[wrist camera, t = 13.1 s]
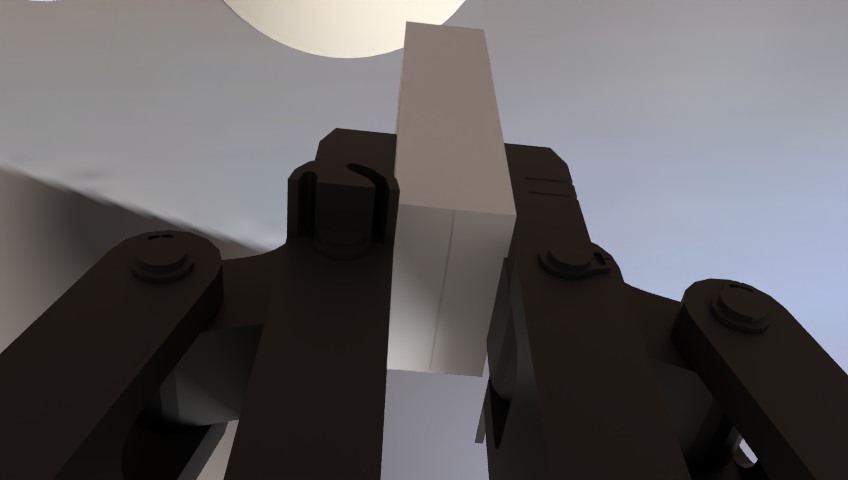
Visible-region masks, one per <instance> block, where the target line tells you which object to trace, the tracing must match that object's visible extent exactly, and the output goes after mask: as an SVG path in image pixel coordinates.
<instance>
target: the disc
mask: <svg viewBox="0 0 848 480" xmlns="http://www.w3.org/2000/svg"><path fill="white" fill-rule="evenodd" d="M224 1H225V2H226V3H227V4H228V5H229V6H230V7H231V8H232V9H233V10H234V11H235V12H236V13H237V14H238V15H239V16H240V17H241V18H243V19H244V20H245V21H247V22H248V23H249V24H251V25H252V26H253V27H255V28H256V29H257V30H259V31H260V32H262V33H264V34H265V35H267V36H269V37H271V38H272V39H274V40H276V41H278V42H280V43H283V44H285V45H287V46H290V47H292V48H294V49H298V50H301V51H304V52H308V53H311V54H316V55H322V56H327V57H338V58H357V57H369V56H374V55H379V54H384V53H388V52H391V51H394V50H397V49H400V48H402V47H404V38H405V28H406V21H409V22H418V23H427V24H436V25H441V24H442V23H444V22H445V21H446V20H447V19H448V18H449V17H450V16H452V15H453V14H454V12H455V11H456V10H457V9H458V8H459V7H460V6H461V4H462V3H463V2H464V1H465V0H224Z"/></svg>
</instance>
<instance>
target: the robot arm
mask: <svg viewBox="0 0 848 480" xmlns="http://www.w3.org/2000/svg"><path fill="white" fill-rule="evenodd" d="M487 353H488V364H489V380H488V385H487V389H486V393H485V398H484V402H483V407H482V412H481V416H480V420H479V425H478V430H477V434H476V440H475V443H483V440H484V436H485V432H486V446H487V457H488V458H487V459H488V472H489V480H848V375H847V374H846V373H845V372H844V371H843V370H842V368H841V367H840V366H839V365H838V364H837V363H836V362H835V361H834V360H833V359H832V358H831V357H830V356H829V354H828V353H827V352H826V351H825V350H824V349H823V348H822V347H821V346H820V345H819V344H818V343H817V342H816V341H815V339H814V338H813V337H812V336H811V335H810V334H809V333H808V332H807V331H806V330H805V329H804V328H803V327H802V325H801V324H800V323H799V322H798V321H797V320H796V319H795V318H794V317H793V316H792V315H791V314H790V313H789V312H788V310H787V309H786V308H784V307H783V306H782V305H781V304H780V303H778V302H777V301H776V300H775V299H773V298H772V297H771V296H769V295H767V294H766V293H764V292H762V291H760V290H758V289H756V288H754V287H753V286H750V285H747V284H744V283H739V282H737V281H732V280H725V279H706V280H702V281H697V282H694V283H693V284H692V285H691V286H690V287H689V288H687V289H686V290H685V292H684V295H683V298H682V300H681V302H679V301H675V300H672V299H669V298H665V297H662V296H659V295H655V294H652V293H649V292H646V291H643V290H640V289H638V288H635V287H632V286H630V285H629V284H627V283H625V282H624V280H623V277H622V274H621V271H620V268H619V266H618V265H617V263H616V262H615V260H614V259H613V257H612V256H611V255H610V254H609V253H608V252H606V251H605V250H604V249H602V248H601V247H600V246H598V245H597V244H594V243H592V242H591V240H590V237H589V234H588V231H587V227H586V224H585V221H584V218H583V214H582V211H581V208H580V205H579V201H578V200H577V195H576V192H575V188H574V185H572V179H571V175H570V172H569V169H568V166H567V164H566V163H565V162H564V161H563V160H562V159H561V158H560V157H559V156H558V155H557V154H556V153H555V152H554V151H553V150H552V149H551V148H547V147H537V146H527V145H518V144H508V143H504V141H503V135H502V130H501V124H500V118H499V113H498V107H497V101H496V96H495V90H494V84H493V79H492V73H491V67H490V61H489V56H488V50H487V44H486V39H485V33H484V30H481V29H472V28H463V27H454V26H445V25H436V24H427V23H418V22H409V21H406V28H405V38H404V48H403V58H402V68H401V78H400V87H399V97H398V107H397V117H396V127H395V134H389V133H379V132H369V131H360V130H350V129H340V128H336V129H334V130H333V131H332V132H331V133H330V134H328V135H327V136H326V137H325V138H323V139H322V140H321V141H320V142H319V146H318V150H317V154H316V158H315V161H310V162H308V163H306V164H304V165H302V166H300V167H298V168H296V169H295V170H294V171H293V173H292V174H291V176H290V177H289V178H288V204H287V239H286V243H285V244H284V245H282V246H280V247H279V248H277V249H275V250H272V251H270V252H267V253H264V254H261V255H256V256H251V257H246V258H237V259H228V260H221V256H220V251H219V249H218V248H216V246H214V245H213V244H212V243H211V242H210V241H209V240H208V239H206V238H203V237H200V236H198V235H195V234H193V233H190V232H181V231H172V230H166V231H155V232H147V233H143V234H140V235H138V236H134V237H131V238H128V239H126V240H124V241H123V242H121V243H120V244H118V245H117V246H115V247H114V248H112V249H111V250H110V251H108V252H107V253H106V254H105V255H104V256H103V257H102V258H101V259H100V260H99V261H98V262H97V263H96V264H95V265H94V266H93V267H91V268H90V269H89V270H88V271H87V272H86V273H85V274H84V275H83V276H82V277H81V278H80V279H79V280H78V281H77V282H76V283H75V284H74V285H72V287H70V288H69V289H68V290H67V291H66V292H65V293H64V294H63V295H62V296H61V297H60V298H59V299H58V300H57V301H56V302H54V303H53V304H52V305H51V306H50V307H49V308H48V309H47V310H46V311H45V312H44V313H43V314H42V315H41V316H40V317H39V318H38V319H37V320H36V321H34V322H33V324H31V325H30V326H29V327H28V328H27V329H26V330H25V331H24V332H23V333H22V334H21V335H20V336H19V337H18V338H17V339H15V340H14V341H13V342H12V343H11V344H10V345H9V346H8V347H7V348H6V349H5V350H4V351H3V352H2V353H1V354H0V480H196V479H197V477H198V476H199V474H200V473H201V471H202V469H203V468H204V466H205V464H206V463H207V461H208V459H209V458H210V456H211V455H212V453H213V451H214V450H215V448H216V446H217V445H218V443H219V441H220V440H221V438H222V437H223V435H224V433H225V430H226V427H227V424H228V421H232V420H238V419H239V423H238V427H237V430H236V434H235V438H234V442H233V446H232V449H231V453H230V457H229V461H228V465H227V469H226V473H225V476H224V480H380V477H381V461H382V443H383V426H384V408H385V392H386V391H385V390H386V375H387V373H386V372H387V369H396V370H409V371H420V372H431V373H443V374H455V375H467V376H479V377H482V373H483V368H484V364H485V360H486V355H487ZM742 439H744V440H745V442H746V443H747V444H748V446H749V447H750V448H751V450H752V451H753V452H754V454H755V456H756V457H757V458H758V460H757V462H756V463H755V464H754V463H752V461H750V460H749V458H748V457H747V456H746V455H745V453H744V452H743V451H742V449H741V448H740V446H739V444H740V442H741V441H742Z"/></svg>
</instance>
